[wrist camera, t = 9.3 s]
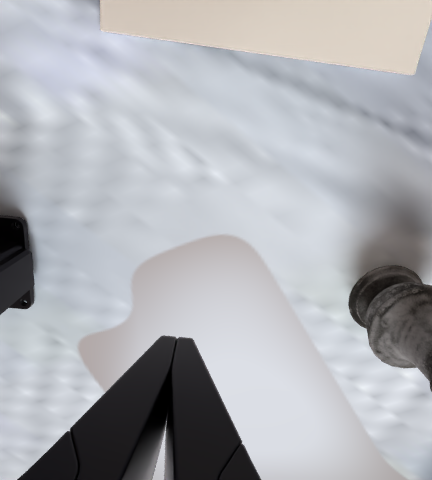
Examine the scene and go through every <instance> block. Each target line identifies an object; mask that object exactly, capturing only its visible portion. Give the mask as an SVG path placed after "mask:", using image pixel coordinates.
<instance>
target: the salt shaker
mask: <svg viewBox="0 0 432 480" xmlns="http://www.w3.org/2000/svg"><path fill="white" fill-rule="evenodd" d="M349 310H350V313H351V315H352V317H353V319H354V320H355V321H356V322H357V323H358V324H359V325H360V326H362V327H364V328H366V329H367V333H368V339H369V345H370V347H371V349H372V351H373V353H374V354H375V355H376V356H377V357H378V358H379V359H380V360H381V361H382V362H384V363H387V364H389V365H391V366H395V367H400V368H417V367H418V369H419V370H420V371H421V372H422V373H423V374H424V375H425V377H426V378H427V379H428V380H429V381H430V389H431V391H432V286H430V285H425V284H422V282H421V279H420V278H419V277H418V276H417V275H416V274H415V273H414V272H413V271H411V270H409V269H407V268H405V267H401V266H384V267H381V268H377V269H375V270H373V271H371V272H369V273H367V274H366V275H365V276H363V277H362V278H361V279H360V280H359V281H358V282H357V284H356V285H355V286H354V288H353V290H352V292H351V294H350V298H349Z"/></svg>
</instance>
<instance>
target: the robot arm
mask: <svg viewBox="0 0 432 480" xmlns="http://www.w3.org/2000/svg"><path fill="white" fill-rule="evenodd" d="M15 223H17V224H18V225H19V228H17V227H16V226H15ZM33 286H34V275H33V264H32V253H31V252H30V250H29V240H28V229H27V223H26V222H25V220H24V219H22V218H20V217H13V216H4V215H0V315H1V314H2V313H3V312H4V311H5V310H6V309H8V308H18V309H28V308H29V307H31V306H32V305H33V303H34V293H33ZM24 300H26V301H27V303H26V302H24ZM166 421H167V424H166ZM165 427H166V440H165V474H164V480H261V479H260V476H259V475H258V473H257V471H256V469H255V467H254V465H253V463H252V461H251V459H250V457H249V455H248V453H247V451H246V448H245V446H244V445H243V444H242V440H241V438H240V436H239V434H238V432H237V430H236V428H235V426H234V424H233V422H232V420H231V417H230V416H229V413H228V412H227V409H226V407H225V405H224V403H223V401H222V399H221V397H220V394H219V392H218V390H217V388H216V386H215V384H214V382H213V380H212V378H211V376H210V374H209V371H208V369H207V367H206V365H205V363H204V361H203V359H202V357H201V355H200V353H199V351H198V349H197V346H196V345H195V342H194V340H193V339H192V338H183V337H179V338H178V339H177V338H176V337H172V336H161V337H160V338H159V339H158V340H157V341H156V342H155V343H154V344H153V345H152V346H151V347H150V348H149V349H148V350H147V351H146V352H145V353H144V354H143V355H142V356H141V357H140V358H139V359H138V360H137V361H136V362H135V363H134V364H133V365H132V366H131V367H130V368H129V369H128V370H127V371H126V372H125V373H124V374H123V375H122V377H120V378H119V380H117V381H116V383H115V384H114V385H113V386H112V387H111V388H110V389H109V390H108V391H107V392H106V393H105V394H104V395H103V396H102V397H101V398H100V399H99V400H98V401H97V402H96V403H95V404H94V405H93V406H92V407H91V408H90V409H89V410H88V411H87V412H86V413H85V414H84V415H83V416H82V417H81V418H80V419H79V420H78V421H77V422H76V423H75V424H74V425H73V426H72V427H71V428H70V431H67V432H66V433H65V434H64V435H63V436H62V437H61V438H60V439H59V440H58V441H57V442H56V443H55V444H54V445H53V446H52V447H51V448H50V449H49V450H48V451H47V452H46V453H45V454H44V455H43V456H42V457H41V458H40V459H39V460H38V461H37V462H36V463H35V464H34V465H33V466H32V467H31V468H30V469H29V470H28V471H26V472H25V473H24V474H23V475H22V476H21V477H20V478H19V479H17V480H152V478H153V474H154V471H155V467H156V463H157V459H158V455H159V452H160V448H161V444H162V440H163V436H164V431H165Z"/></svg>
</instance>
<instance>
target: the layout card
mask: <svg viewBox="0 0 432 480" xmlns="http://www.w3.org/2000/svg"><path fill="white" fill-rule="evenodd" d="M431 18H432V0H100V30H101V31H103V32H110V33H117V34H124V35H131V36H138V37H145V38H152V39H159V40H166V41H173V42H180V43H187V44H194V45H201V46H208V47H215V48H222V49H229V50H236V51H243V52H250V53H257V54H264V55H271V56H278V57H285V58H292V59H299V60H306V61H313V62H320V63H327V64H334V65H341V66H348V67H355V68H363V69H370V70H377V71H384V72H391V73H398V74H405V75H414V74H415V71H416V68H417V65H418V61H419V58H420V55H421V51H422V48H423V45H424V41H425V38H426V35H427V32H428V28H429V25H430V22H431Z"/></svg>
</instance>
